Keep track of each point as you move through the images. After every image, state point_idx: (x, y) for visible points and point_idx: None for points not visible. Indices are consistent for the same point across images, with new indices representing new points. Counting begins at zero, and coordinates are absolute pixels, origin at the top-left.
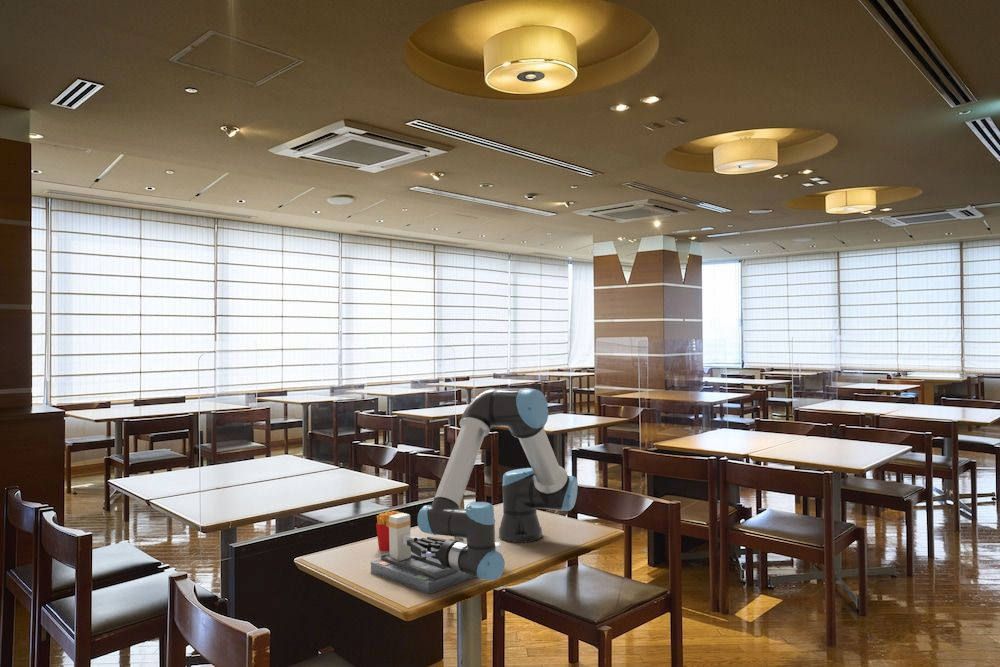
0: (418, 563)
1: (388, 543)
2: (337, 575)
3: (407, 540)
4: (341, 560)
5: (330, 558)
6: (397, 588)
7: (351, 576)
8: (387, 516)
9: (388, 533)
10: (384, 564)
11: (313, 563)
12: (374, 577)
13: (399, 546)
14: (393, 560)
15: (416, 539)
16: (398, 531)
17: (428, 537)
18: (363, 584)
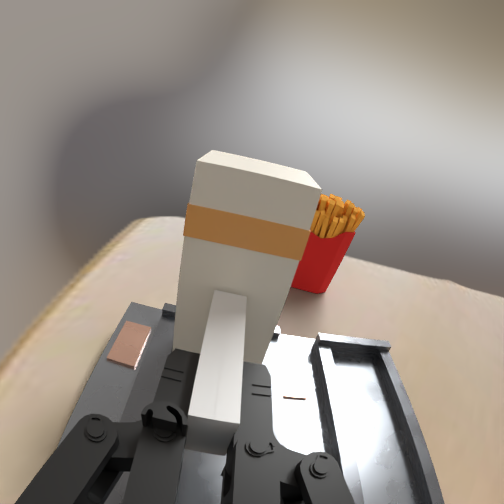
0: (216, 469)
1: (299, 272)
2: (81, 277)
3: (172, 355)
4: (175, 249)
5: (175, 235)
6: (20, 480)
7: (81, 303)
8: (324, 204)
9: (308, 249)
10: (116, 351)
11: (137, 227)
12: (91, 358)
13: (188, 333)
14: (145, 365)
15: (171, 429)
16: (192, 255)
17: (314, 470)
18: (27, 355)
